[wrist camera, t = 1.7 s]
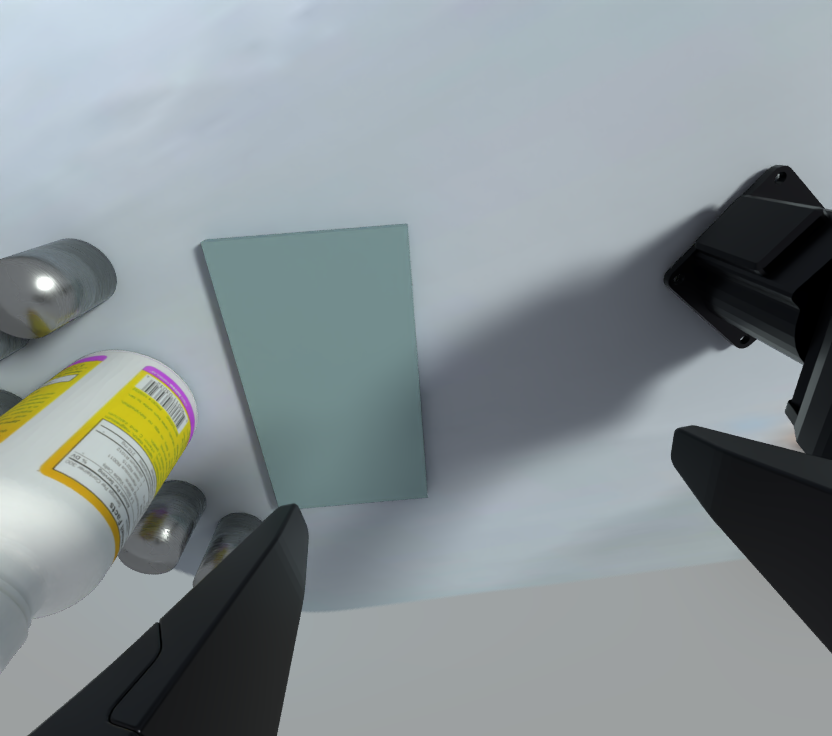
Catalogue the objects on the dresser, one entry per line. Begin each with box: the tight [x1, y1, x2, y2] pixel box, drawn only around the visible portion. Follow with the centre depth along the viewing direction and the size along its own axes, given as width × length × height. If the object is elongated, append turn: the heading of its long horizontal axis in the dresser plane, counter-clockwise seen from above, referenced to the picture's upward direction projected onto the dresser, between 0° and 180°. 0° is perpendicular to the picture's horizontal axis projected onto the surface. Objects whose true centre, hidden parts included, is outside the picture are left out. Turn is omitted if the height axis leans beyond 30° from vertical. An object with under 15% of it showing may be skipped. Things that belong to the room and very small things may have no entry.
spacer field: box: [0, 239, 262, 588], centre depth 22 cm, size 15×22×4 cm
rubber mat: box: [201, 224, 428, 509], centre depth 23 cm, size 9×16×1 cm, turn 4°
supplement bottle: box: [0, 350, 198, 674], centre depth 18 cm, size 7×7×13 cm
